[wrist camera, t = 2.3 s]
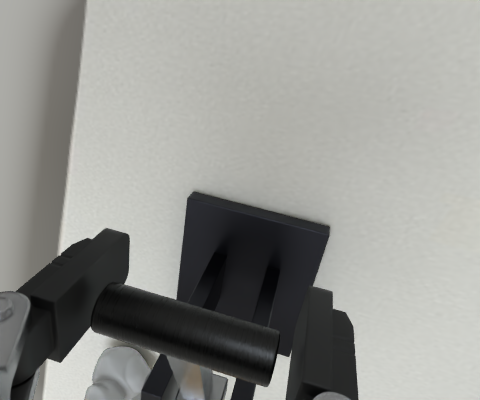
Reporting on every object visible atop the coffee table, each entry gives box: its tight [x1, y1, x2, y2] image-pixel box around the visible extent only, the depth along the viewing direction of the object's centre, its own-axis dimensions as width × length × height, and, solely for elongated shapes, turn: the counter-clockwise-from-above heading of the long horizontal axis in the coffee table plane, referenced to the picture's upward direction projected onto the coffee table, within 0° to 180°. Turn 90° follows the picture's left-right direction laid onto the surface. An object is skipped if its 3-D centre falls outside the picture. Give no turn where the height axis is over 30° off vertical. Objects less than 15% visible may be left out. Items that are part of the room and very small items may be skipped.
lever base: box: [141, 192, 330, 400], centre depth 23 cm, size 12×10×13 cm
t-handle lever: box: [91, 282, 281, 400], centre depth 15 cm, size 13×5×2 cm, turn 170°
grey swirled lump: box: [84, 347, 151, 400], centre depth 32 cm, size 5×7×8 cm
